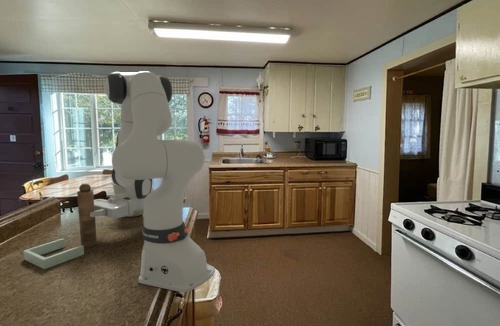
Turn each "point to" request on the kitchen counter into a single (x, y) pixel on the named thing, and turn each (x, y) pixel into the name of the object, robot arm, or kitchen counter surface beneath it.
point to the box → (35, 252)
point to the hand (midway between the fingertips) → (84, 213)
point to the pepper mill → (86, 216)
